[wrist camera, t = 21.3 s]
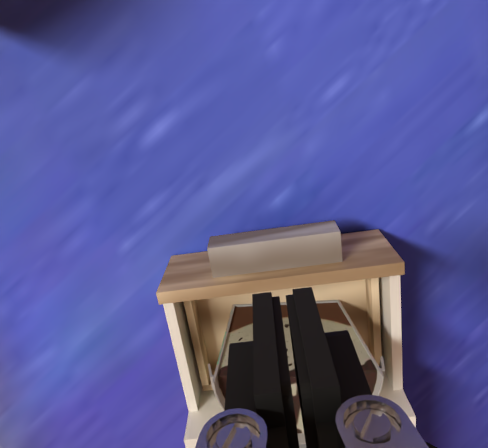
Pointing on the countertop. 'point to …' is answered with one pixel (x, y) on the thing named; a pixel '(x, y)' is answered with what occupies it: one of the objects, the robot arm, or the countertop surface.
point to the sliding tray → (279, 279)
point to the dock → (206, 402)
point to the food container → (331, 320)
